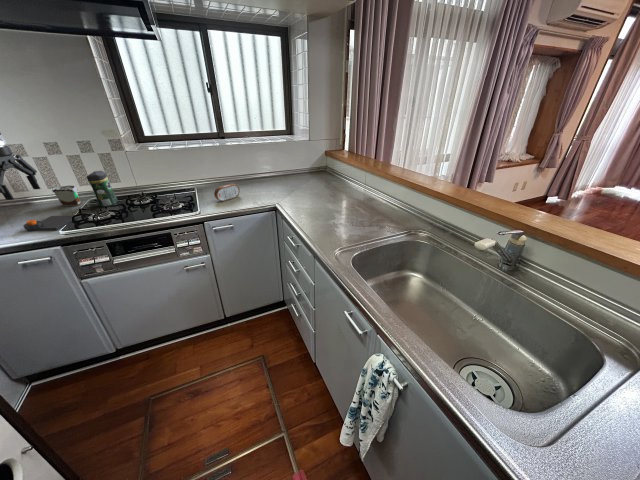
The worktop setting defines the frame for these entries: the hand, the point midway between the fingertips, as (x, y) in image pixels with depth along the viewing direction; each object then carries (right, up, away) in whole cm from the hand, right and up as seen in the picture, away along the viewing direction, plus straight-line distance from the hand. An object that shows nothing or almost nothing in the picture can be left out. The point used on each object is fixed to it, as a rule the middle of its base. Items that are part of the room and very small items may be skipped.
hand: (24, 194), depth 123 cm
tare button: (+2, -14, +2) cm, 14 cm away
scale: (+7, -14, +8) cm, 17 cm away
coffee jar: (+16, -1, +29) cm, 34 cm away
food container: (-5, 0, +31) cm, 31 cm away
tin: (+84, +3, +34) cm, 90 cm away
